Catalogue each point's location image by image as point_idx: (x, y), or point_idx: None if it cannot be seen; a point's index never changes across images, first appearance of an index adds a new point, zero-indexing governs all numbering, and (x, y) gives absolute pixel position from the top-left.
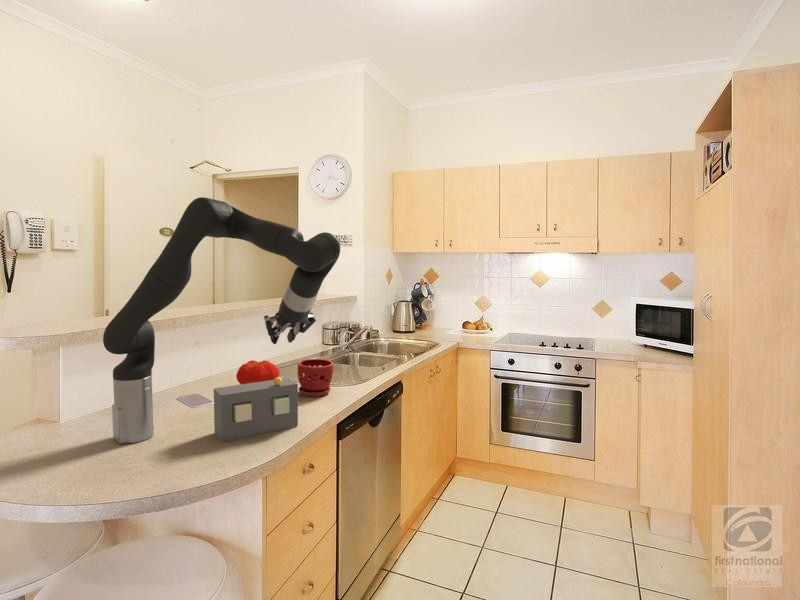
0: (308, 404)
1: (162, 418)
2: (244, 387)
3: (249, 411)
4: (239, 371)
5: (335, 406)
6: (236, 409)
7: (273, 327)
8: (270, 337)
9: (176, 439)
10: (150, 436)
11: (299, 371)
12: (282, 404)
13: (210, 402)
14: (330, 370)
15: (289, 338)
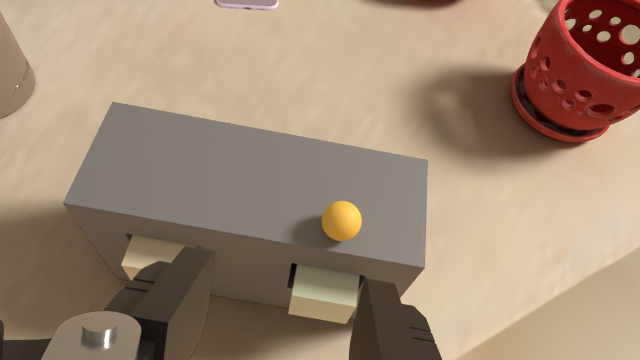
0: (497, 174)
1: (117, 20)
2: (208, 165)
3: None
4: None
5: (570, 247)
6: (124, 268)
7: (48, 355)
8: (138, 280)
9: (43, 169)
10: (3, 114)
11: (542, 39)
12: (321, 307)
13: (267, 3)
14: None
15: (356, 353)
